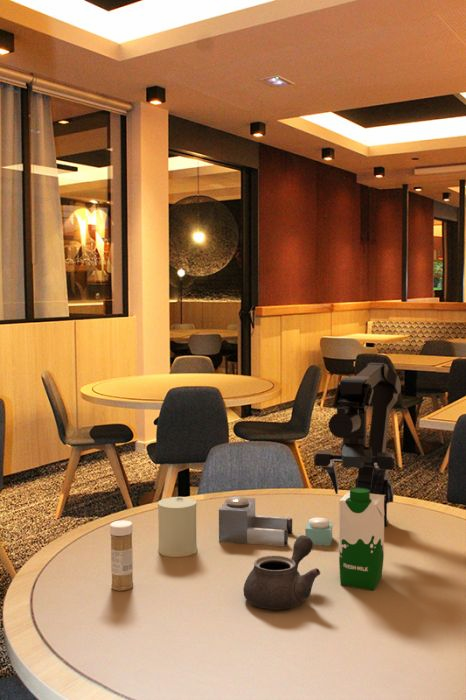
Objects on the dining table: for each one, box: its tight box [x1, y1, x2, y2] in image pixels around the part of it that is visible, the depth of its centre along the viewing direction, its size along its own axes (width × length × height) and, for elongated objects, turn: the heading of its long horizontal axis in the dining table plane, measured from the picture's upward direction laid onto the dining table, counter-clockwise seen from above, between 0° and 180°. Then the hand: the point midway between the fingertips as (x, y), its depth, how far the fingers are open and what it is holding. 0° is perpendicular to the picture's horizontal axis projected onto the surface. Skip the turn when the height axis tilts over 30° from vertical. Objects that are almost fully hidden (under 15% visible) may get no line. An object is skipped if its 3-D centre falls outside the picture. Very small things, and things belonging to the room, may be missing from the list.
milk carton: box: [338, 487, 385, 591], centre depth 148 cm, size 9×9×20 cm
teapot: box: [243, 534, 321, 610], centre depth 142 cm, size 19×15×10 cm
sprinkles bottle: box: [109, 520, 134, 592], centre depth 146 cm, size 5×5×13 cm
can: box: [157, 496, 198, 558], centre depth 167 cm, size 9×9×12 cm
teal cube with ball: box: [304, 517, 333, 547], centre depth 173 cm, size 6×6×5 cm
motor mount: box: [218, 496, 293, 547], centre depth 176 cm, size 17×11×9 cm, turn 78°
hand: (353, 494), depth 171 cm, fingers open, 8 cm apart
